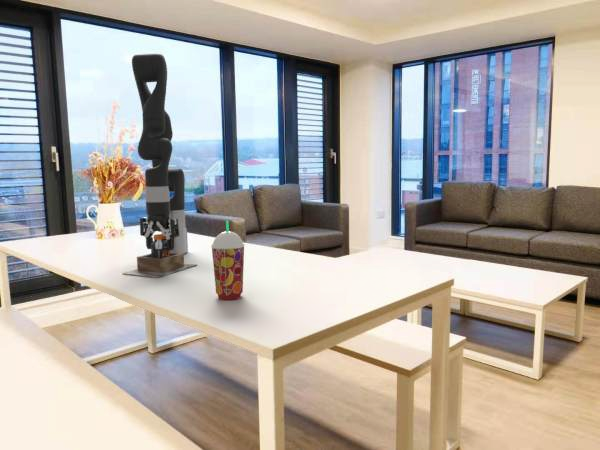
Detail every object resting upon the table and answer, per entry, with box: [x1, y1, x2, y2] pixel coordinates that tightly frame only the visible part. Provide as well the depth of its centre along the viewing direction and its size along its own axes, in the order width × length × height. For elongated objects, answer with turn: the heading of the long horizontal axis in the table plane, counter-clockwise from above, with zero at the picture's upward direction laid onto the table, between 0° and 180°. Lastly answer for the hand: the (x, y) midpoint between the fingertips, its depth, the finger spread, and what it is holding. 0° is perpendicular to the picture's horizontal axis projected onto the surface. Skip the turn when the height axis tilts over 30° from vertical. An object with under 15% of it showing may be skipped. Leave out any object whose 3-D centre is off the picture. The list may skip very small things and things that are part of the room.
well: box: [122, 253, 198, 279], centre depth 160 cm, size 20×14×5 cm
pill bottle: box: [150, 233, 170, 258], centre depth 160 cm, size 6×6×11 cm
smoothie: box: [210, 220, 246, 301], centre depth 124 cm, size 8×8×20 cm
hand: (160, 249), depth 160 cm, fingers open, 8 cm apart
